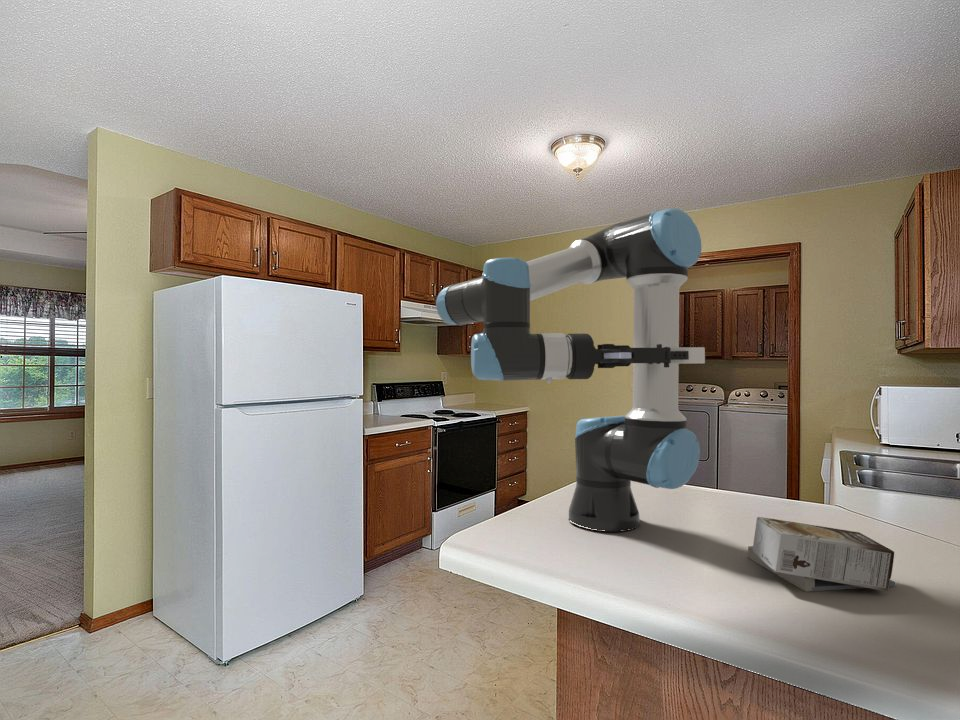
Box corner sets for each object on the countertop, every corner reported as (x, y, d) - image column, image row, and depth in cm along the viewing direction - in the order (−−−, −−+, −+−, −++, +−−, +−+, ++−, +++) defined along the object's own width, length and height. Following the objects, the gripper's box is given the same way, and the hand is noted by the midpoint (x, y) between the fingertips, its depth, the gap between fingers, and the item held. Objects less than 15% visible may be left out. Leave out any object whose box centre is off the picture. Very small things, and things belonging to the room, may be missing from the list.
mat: (748, 557, 93) (748, 546, 93) (825, 553, 95) (825, 542, 95) (805, 591, 79) (805, 578, 79) (895, 586, 81) (895, 573, 81)
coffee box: (756, 514, 88) (858, 530, 86) (751, 552, 88) (852, 568, 86) (781, 533, 79) (896, 551, 77) (775, 574, 79) (889, 593, 77)
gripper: (555, 378, 92) (683, 376, 95) (578, 380, 79) (725, 378, 82) (555, 335, 92) (682, 335, 95) (577, 331, 79) (724, 330, 82)
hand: (702, 355), depth 88 cm, fingers closed
